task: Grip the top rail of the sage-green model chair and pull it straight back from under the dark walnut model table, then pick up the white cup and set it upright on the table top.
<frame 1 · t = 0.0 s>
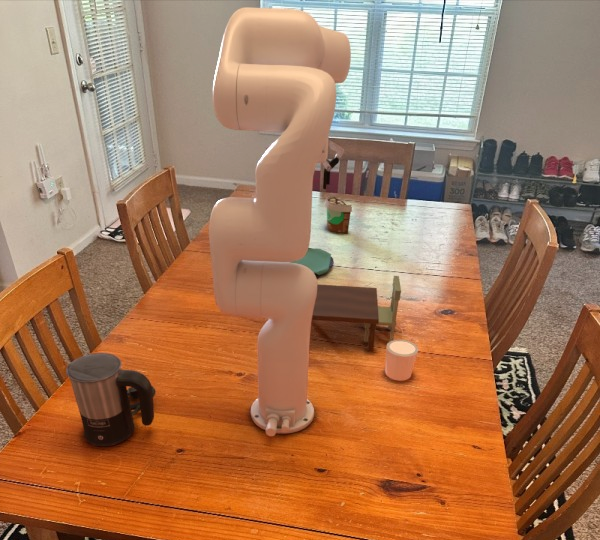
hand: (303, 186, 130), 31 cm above the table, tool pointing down, fingers open, 9 cm apart
milk frother: (121, 419, 110), on the table
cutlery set: (283, 265, 171), on the table
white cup: (397, 374, 125), on the table
food container: (333, 230, 195), on the table
model table: (336, 333, 139), on the table
chair: (381, 309, 134), point 7 cm above the table, slide at 0.0 cm
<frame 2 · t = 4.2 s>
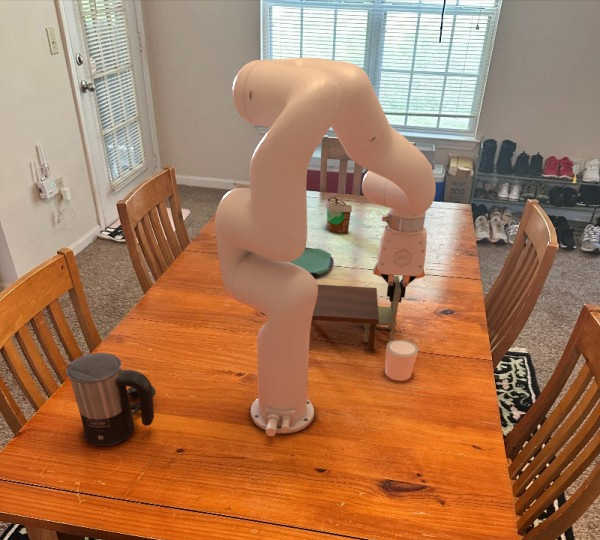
hand: (395, 299, 132), 10 cm above the table, tool pointing down, fingers closed
chair: (381, 309, 134), point 7 cm above the table, slide at 0.0 cm, touching gripper
everything else where it was.
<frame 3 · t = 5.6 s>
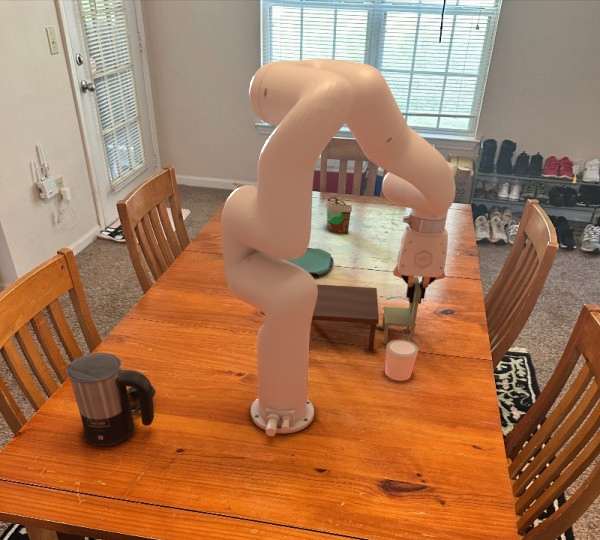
hand: (414, 300, 132), 10 cm above the table, tool pointing down, fingers closed
chair: (400, 310, 134), point 7 cm above the table, slide at 4.5 cm, touching gripper
everything else where it was.
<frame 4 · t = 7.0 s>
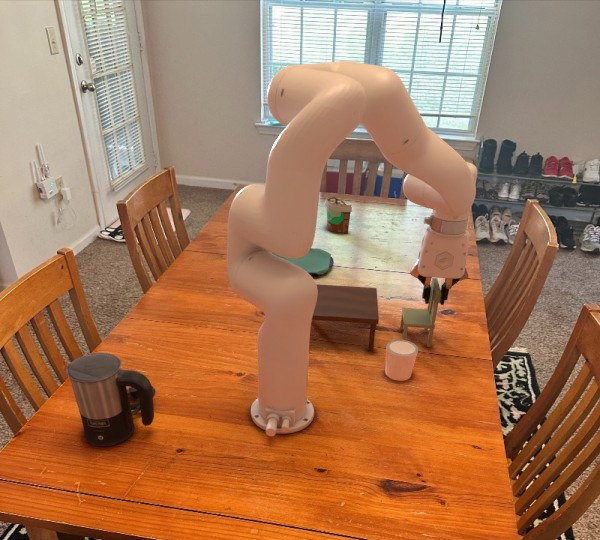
hand: (433, 301, 131), 10 cm above the table, tool pointing down, fingers closed
chair: (419, 311, 133), point 7 cm above the table, slide at 8.9 cm
everything else where it was.
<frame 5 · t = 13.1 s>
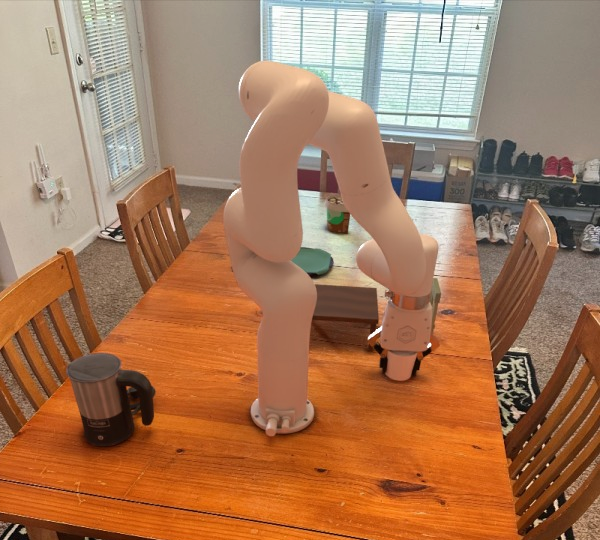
hand: (398, 370, 125), 1 cm above the table, tool pointing down, fingers closed on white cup, 5 cm apart
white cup: (397, 374, 125), on the table, touching gripper
everything else where it was.
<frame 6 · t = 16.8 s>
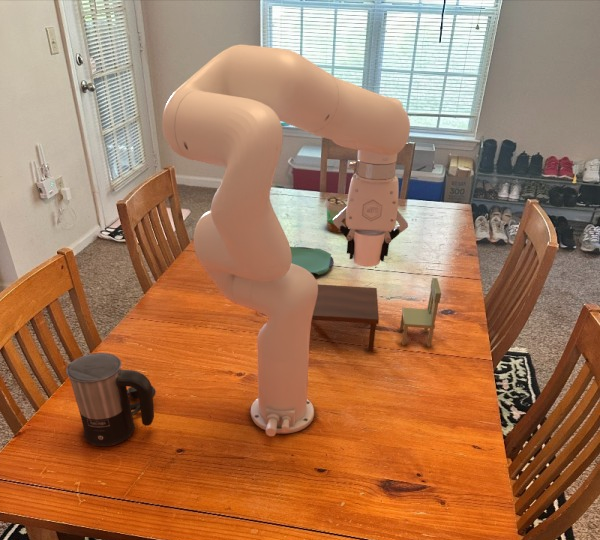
hand: (366, 257, 120), 22 cm above the table, tool pointing down, fingers closed on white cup, 5 cm apart
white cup: (366, 262, 121), point 21 cm above the table, touching gripper
everything else where it was.
when the fingers open (10 cm above the table, at t = 20.7 s): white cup stays where it is, resting on model table.
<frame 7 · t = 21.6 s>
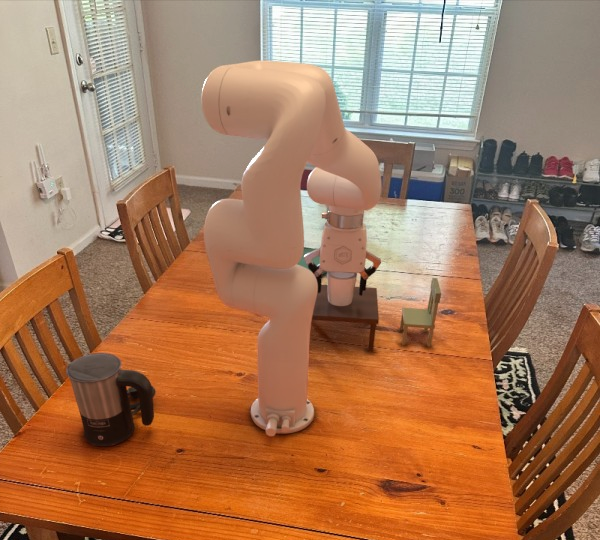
hand: (339, 291, 132), 11 cm above the table, tool pointing down, fingers open, 9 cm apart
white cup: (339, 301, 133), point 9 cm above the table, touching model table
everything else where it was.
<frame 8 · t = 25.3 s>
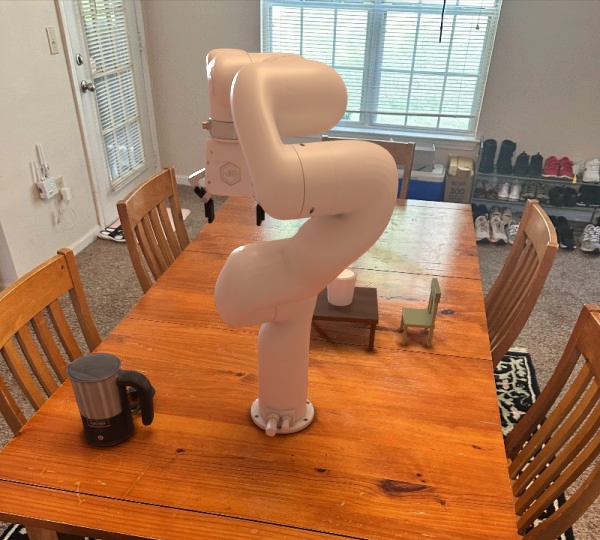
hand: (235, 222, 113), 30 cm above the table, tool pointing down, fingers open, 9 cm apart
nothing on the table moved.
at the end: chair slide at 8.9 cm; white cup inside the target area on the model table (0.1 cm from its centre), point 8.8 cm above the model table's base; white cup tilted 0° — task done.
